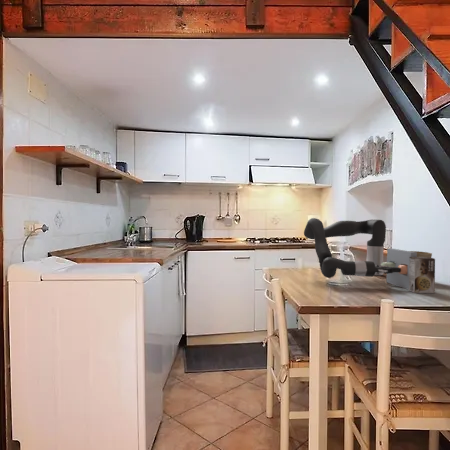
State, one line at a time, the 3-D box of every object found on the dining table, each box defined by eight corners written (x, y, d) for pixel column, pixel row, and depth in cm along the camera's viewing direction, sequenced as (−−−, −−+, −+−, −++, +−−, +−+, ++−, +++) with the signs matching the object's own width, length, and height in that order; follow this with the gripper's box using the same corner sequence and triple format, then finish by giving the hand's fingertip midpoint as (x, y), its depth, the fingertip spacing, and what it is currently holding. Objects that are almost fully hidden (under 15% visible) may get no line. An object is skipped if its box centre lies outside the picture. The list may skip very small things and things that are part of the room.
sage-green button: (380, 270, 183) (380, 261, 183) (393, 270, 184) (393, 261, 184) (385, 271, 179) (385, 263, 179) (398, 271, 179) (398, 263, 179)
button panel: (386, 282, 187) (387, 248, 186) (391, 282, 187) (392, 248, 186) (409, 290, 167) (410, 252, 166) (415, 289, 167) (416, 252, 167)
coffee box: (428, 290, 166) (429, 256, 165) (435, 293, 159) (436, 258, 159) (408, 290, 167) (409, 256, 166) (414, 293, 160) (415, 257, 160)
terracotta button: (397, 273, 174) (397, 264, 173) (410, 273, 174) (411, 264, 174) (402, 274, 169) (403, 265, 169) (416, 274, 170) (416, 265, 170)
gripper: (359, 274, 180) (395, 275, 178) (367, 278, 167) (405, 280, 165) (360, 259, 180) (395, 260, 178) (367, 262, 166) (405, 264, 164)
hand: (400, 269), depth 171 cm, fingers closed
